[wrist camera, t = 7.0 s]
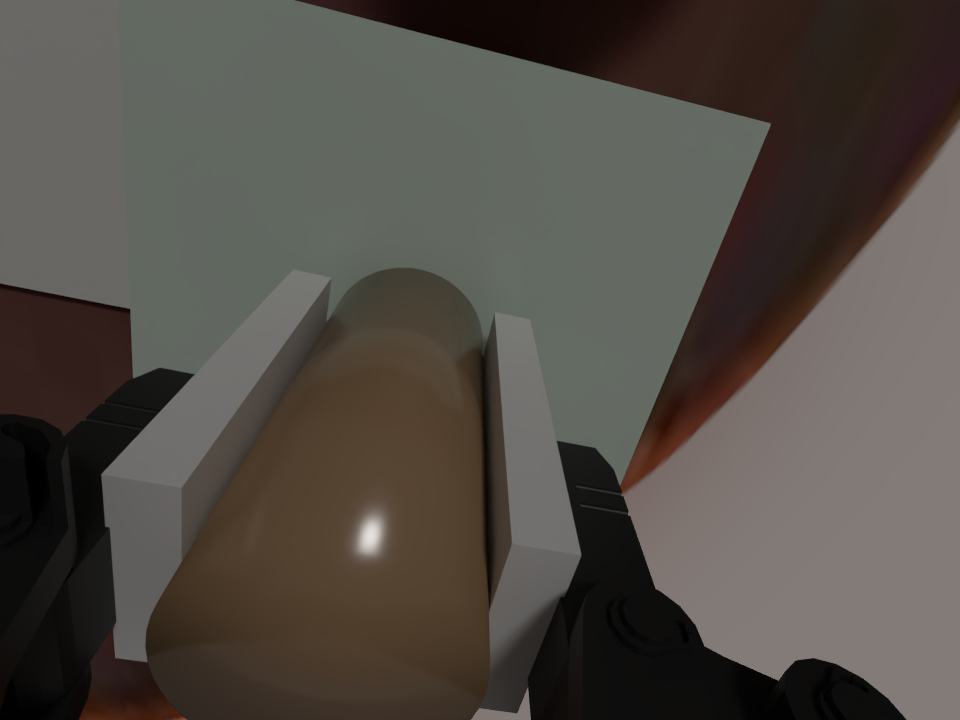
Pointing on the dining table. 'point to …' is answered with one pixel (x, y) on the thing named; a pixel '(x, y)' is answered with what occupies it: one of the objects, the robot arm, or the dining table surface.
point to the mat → (62, 150)
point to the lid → (391, 322)
